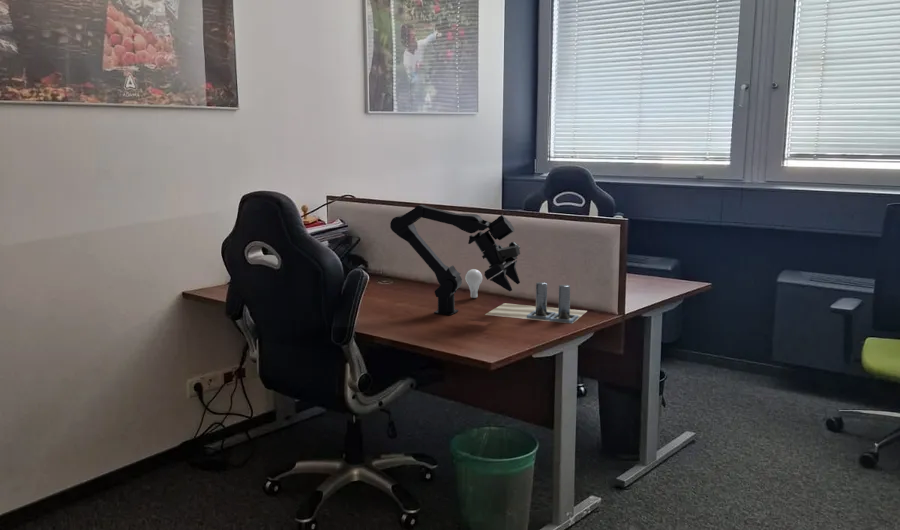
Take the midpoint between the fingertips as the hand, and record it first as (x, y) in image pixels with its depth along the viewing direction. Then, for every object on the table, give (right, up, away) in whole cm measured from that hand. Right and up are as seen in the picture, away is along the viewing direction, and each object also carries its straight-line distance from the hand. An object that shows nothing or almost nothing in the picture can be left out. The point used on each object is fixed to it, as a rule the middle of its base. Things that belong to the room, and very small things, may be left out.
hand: (515, 287), depth 249 cm
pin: (+8, -9, -3) cm, 13 cm away
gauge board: (+7, -10, +2) cm, 12 cm away
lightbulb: (-13, -5, +29) cm, 32 cm away
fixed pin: (+15, -10, -8) cm, 20 cm away
